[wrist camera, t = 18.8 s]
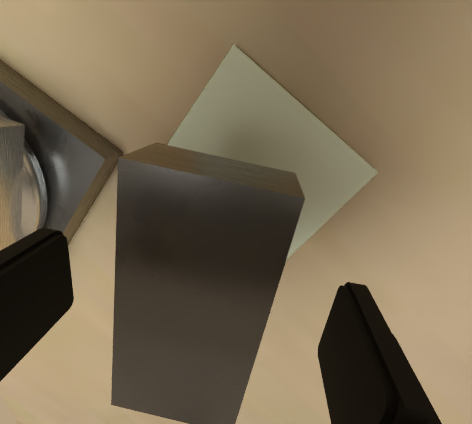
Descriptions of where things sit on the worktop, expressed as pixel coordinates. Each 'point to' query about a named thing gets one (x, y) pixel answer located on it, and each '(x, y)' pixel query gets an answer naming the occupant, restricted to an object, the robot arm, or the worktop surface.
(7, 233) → the grey boxy piece
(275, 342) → the worktop surface
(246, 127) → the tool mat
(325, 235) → the worktop surface
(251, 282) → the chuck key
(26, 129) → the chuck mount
